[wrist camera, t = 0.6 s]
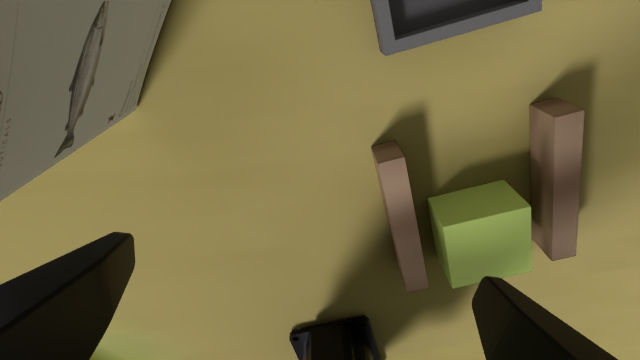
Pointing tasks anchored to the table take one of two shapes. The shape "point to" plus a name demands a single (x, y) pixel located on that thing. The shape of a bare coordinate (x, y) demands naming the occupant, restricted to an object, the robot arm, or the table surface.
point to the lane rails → (546, 189)
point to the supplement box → (68, 76)
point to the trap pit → (439, 19)
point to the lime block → (481, 233)
